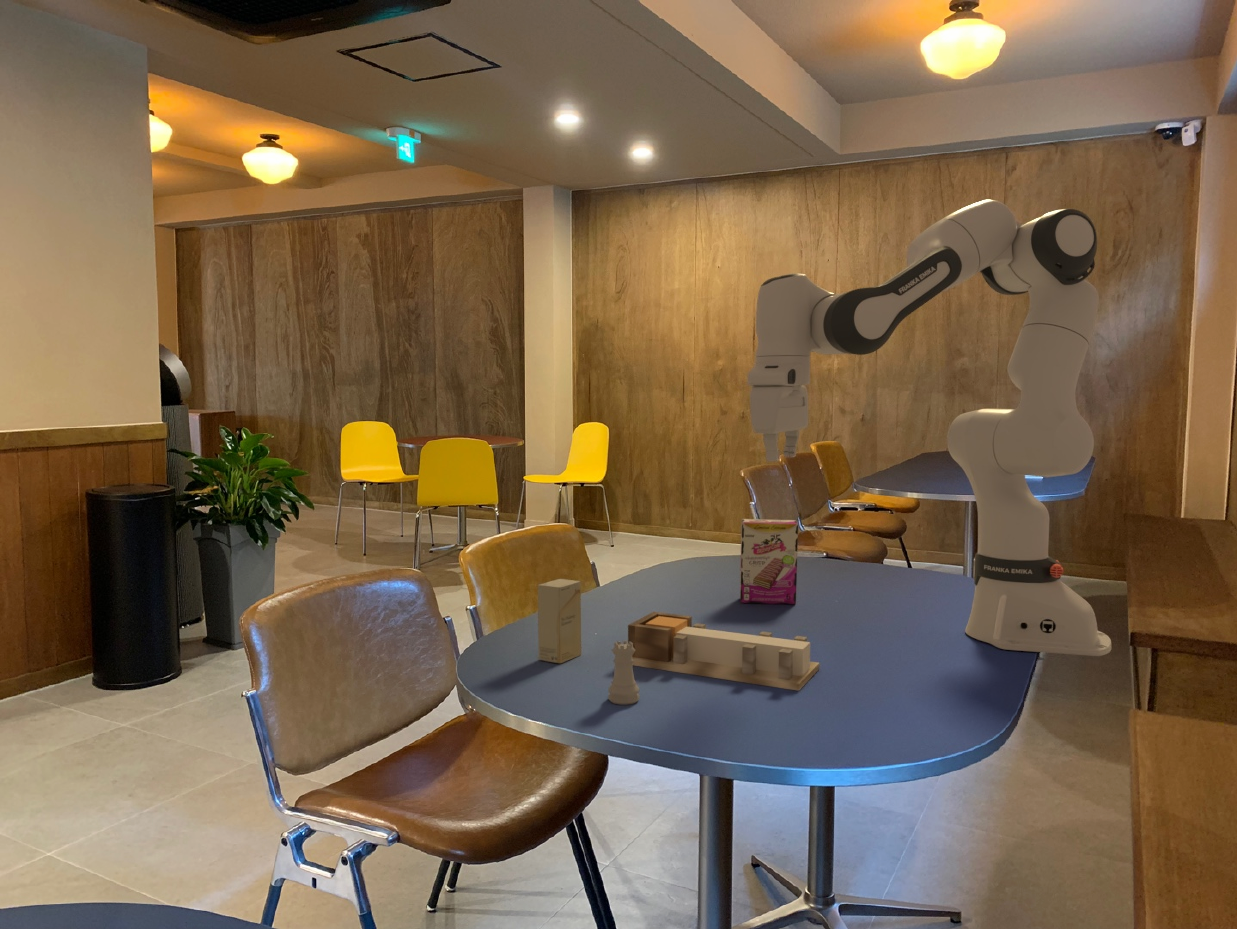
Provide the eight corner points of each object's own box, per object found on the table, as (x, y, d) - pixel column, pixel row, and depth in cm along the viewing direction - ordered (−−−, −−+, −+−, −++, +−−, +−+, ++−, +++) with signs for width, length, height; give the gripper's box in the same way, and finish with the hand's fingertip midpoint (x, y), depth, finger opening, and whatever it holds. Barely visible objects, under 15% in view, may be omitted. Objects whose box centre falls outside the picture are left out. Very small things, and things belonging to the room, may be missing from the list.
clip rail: (819, 669, 138) (819, 630, 137) (799, 690, 128) (799, 649, 128) (652, 645, 151) (652, 610, 150) (622, 663, 141) (622, 626, 140)
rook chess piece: (615, 707, 122) (615, 649, 121) (602, 697, 126) (602, 641, 125) (645, 703, 124) (645, 645, 123) (631, 693, 128) (631, 637, 127)
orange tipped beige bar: (810, 667, 135) (811, 635, 135) (801, 677, 131) (802, 643, 131) (658, 646, 147) (658, 616, 146) (645, 654, 142) (645, 623, 142)
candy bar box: (740, 604, 179) (741, 522, 178) (739, 598, 184) (740, 518, 183) (797, 605, 178) (798, 522, 177) (795, 599, 183) (796, 519, 182)
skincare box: (559, 665, 141) (559, 588, 140) (537, 660, 143) (536, 584, 142) (582, 654, 146) (582, 580, 145) (560, 650, 148) (559, 577, 147)
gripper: (782, 375, 158) (781, 454, 160) (743, 374, 140) (742, 463, 141) (818, 375, 155) (817, 455, 157) (782, 373, 137) (781, 464, 139)
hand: (781, 459), depth 149 cm, fingers open, 8 cm apart
